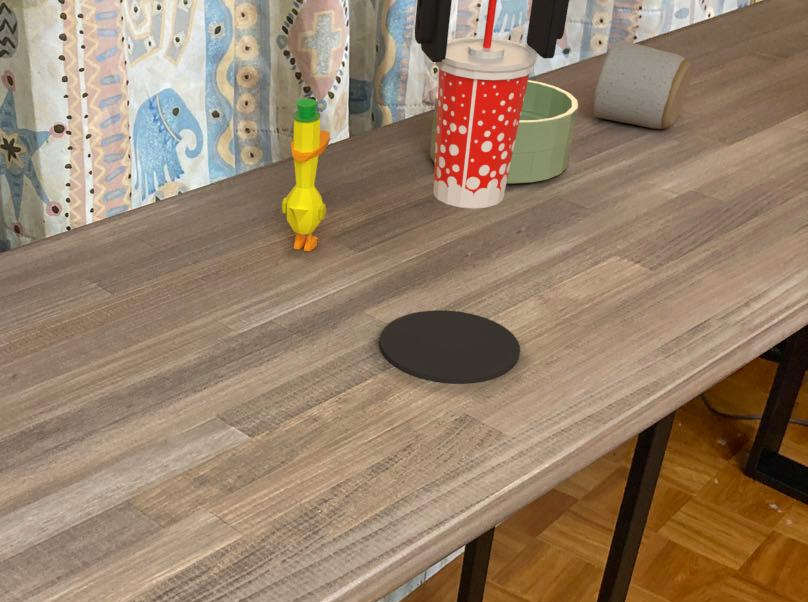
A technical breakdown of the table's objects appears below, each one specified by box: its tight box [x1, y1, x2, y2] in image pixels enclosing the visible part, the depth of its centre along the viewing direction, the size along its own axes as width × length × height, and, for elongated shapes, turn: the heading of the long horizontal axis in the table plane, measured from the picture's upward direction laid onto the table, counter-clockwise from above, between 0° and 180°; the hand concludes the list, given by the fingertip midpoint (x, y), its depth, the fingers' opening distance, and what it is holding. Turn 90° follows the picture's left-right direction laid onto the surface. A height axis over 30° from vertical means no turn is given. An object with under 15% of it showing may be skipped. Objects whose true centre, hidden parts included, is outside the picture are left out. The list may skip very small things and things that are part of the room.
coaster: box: [379, 309, 521, 384], centre depth 81 cm, size 10×10×1 cm
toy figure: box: [281, 98, 331, 252], centre depth 91 cm, size 7×4×12 cm, turn 159°
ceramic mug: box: [592, 39, 693, 130], centre depth 118 cm, size 11×8×8 cm
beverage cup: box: [432, 0, 538, 209], centre depth 69 cm, size 6×6×14 cm
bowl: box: [429, 79, 579, 185], centre depth 108 cm, size 13×13×6 cm
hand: (486, 51), depth 68 cm, fingers closed on beverage cup, 6 cm apart
